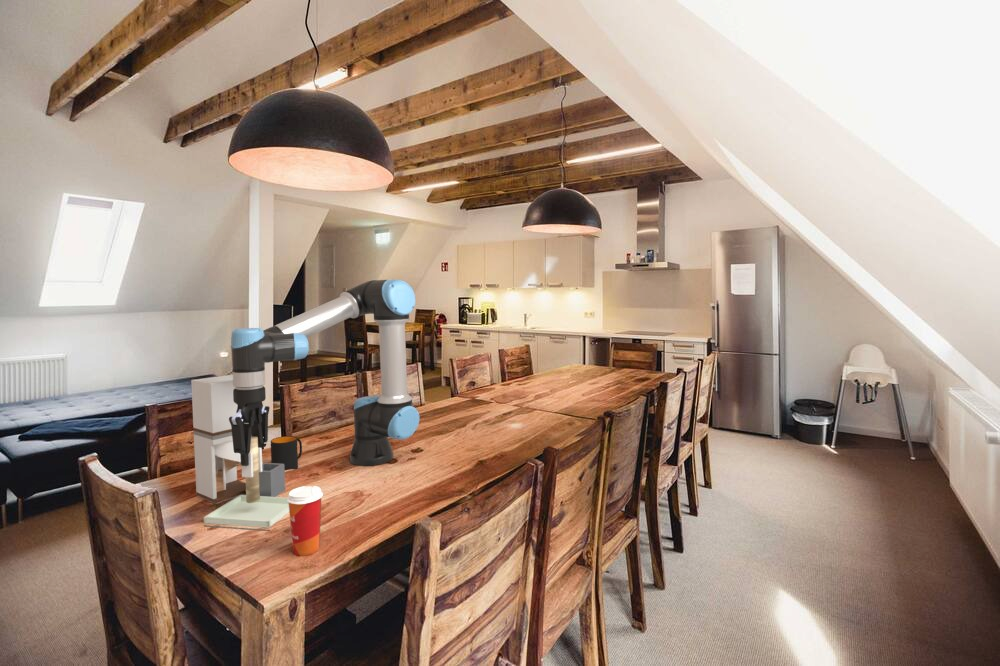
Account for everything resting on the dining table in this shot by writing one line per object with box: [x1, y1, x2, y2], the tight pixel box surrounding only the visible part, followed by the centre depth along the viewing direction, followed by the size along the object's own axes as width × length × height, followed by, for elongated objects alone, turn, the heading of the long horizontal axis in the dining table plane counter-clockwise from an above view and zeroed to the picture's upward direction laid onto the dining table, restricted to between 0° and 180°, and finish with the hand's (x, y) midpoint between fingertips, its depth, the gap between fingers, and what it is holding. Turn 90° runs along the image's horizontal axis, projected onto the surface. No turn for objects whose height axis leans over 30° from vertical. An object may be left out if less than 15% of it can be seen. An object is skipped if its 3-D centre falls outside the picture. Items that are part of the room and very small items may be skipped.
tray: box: [203, 494, 290, 532], centre depth 127 cm, size 18×14×2 cm
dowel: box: [245, 436, 260, 503], centre depth 126 cm, size 3×3×17 cm
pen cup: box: [259, 462, 286, 497], centre depth 139 cm, size 7×7×9 cm
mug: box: [270, 435, 303, 471], centre depth 164 cm, size 8×12×10 cm
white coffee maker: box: [190, 374, 249, 505], centre depth 139 cm, size 11×11×35 cm
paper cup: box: [286, 485, 324, 557], centre depth 110 cm, size 8×8×14 cm
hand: (252, 473), depth 126 cm, fingers closed on dowel, 3 cm apart
